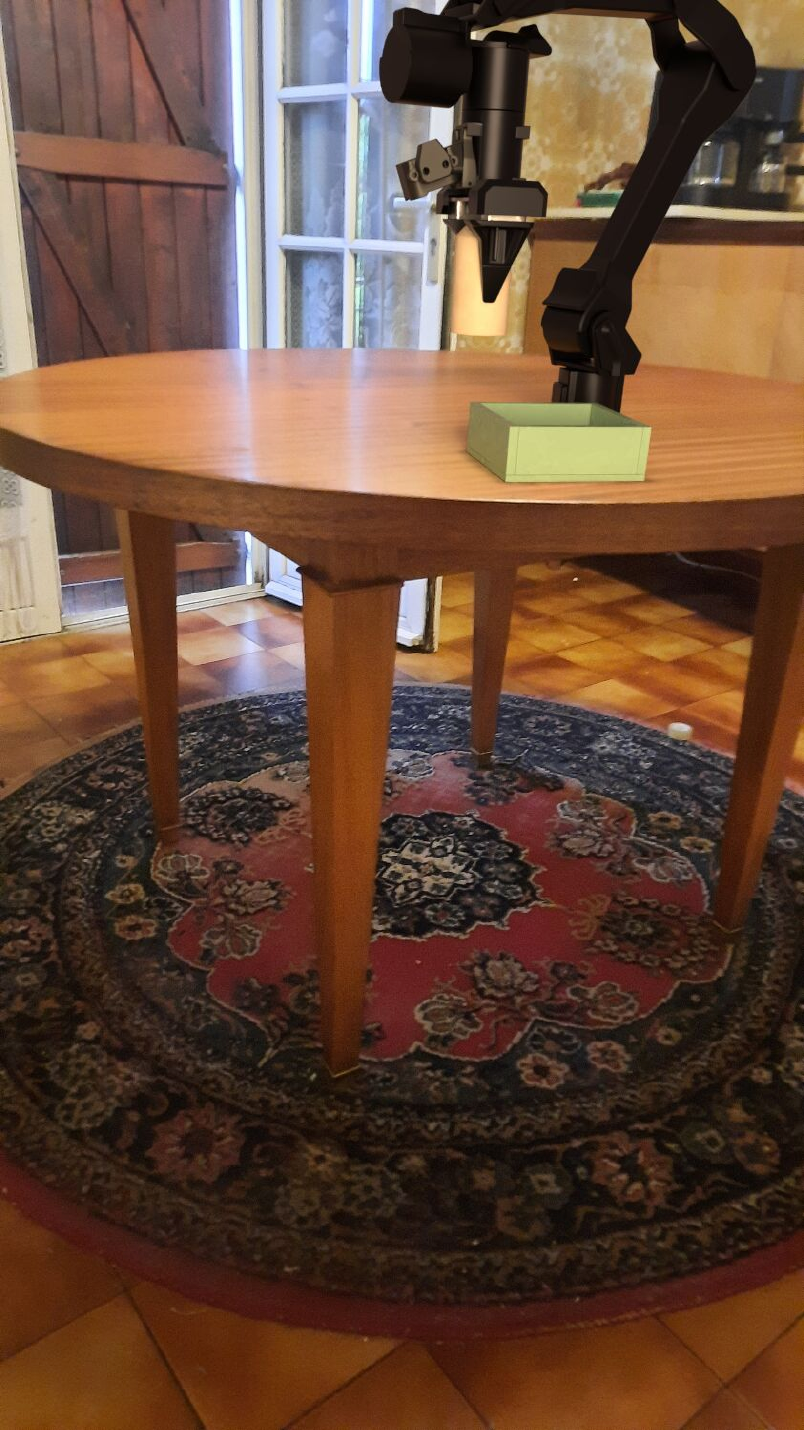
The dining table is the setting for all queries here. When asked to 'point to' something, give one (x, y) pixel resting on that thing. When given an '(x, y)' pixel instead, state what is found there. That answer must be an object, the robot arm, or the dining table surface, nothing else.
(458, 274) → the candle
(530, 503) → the dining table surface
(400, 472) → the dining table surface
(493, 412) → the green open tray
